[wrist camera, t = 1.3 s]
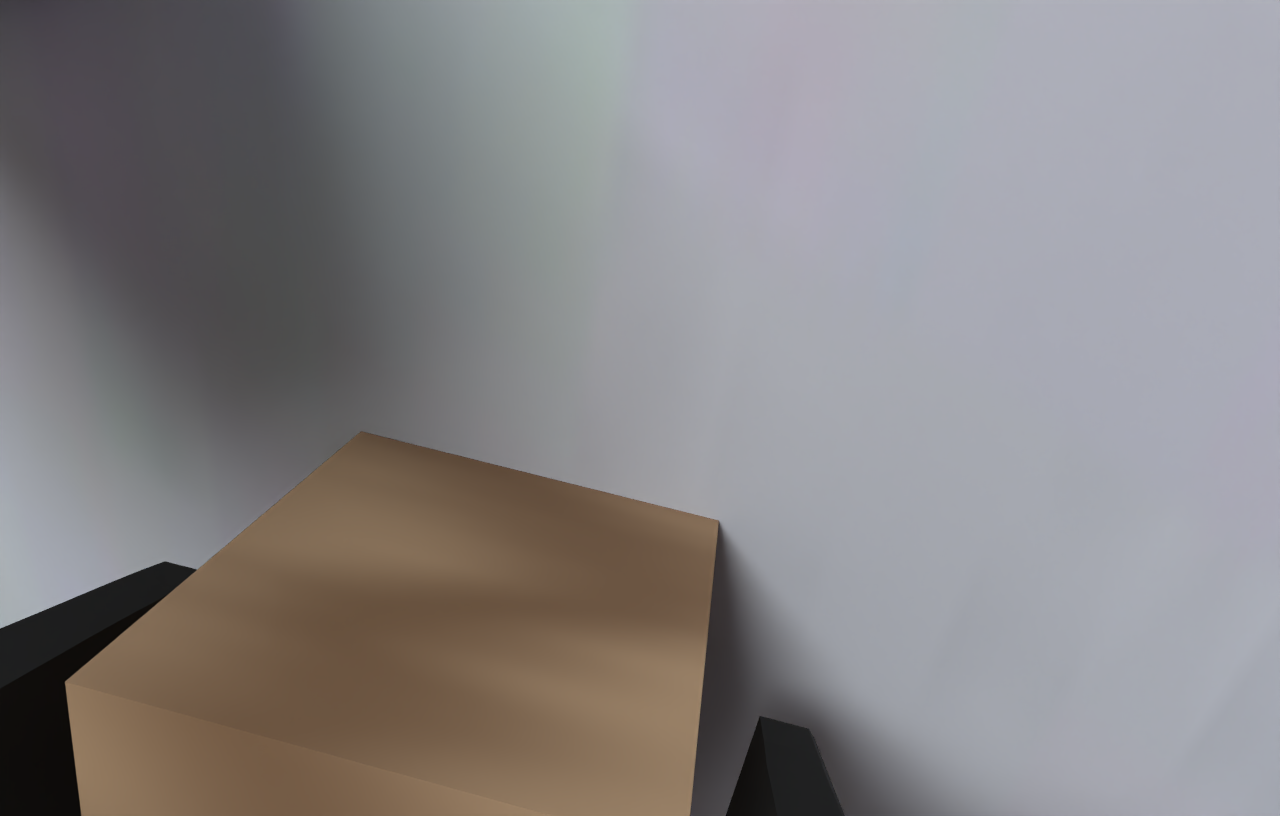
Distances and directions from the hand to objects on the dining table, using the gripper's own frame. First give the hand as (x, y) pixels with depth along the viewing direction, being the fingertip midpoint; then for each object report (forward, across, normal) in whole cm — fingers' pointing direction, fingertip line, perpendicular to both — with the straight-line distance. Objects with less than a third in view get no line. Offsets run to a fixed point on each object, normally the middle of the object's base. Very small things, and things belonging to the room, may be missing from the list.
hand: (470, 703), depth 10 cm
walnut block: (+2, 0, 0) cm, 2 cm away
